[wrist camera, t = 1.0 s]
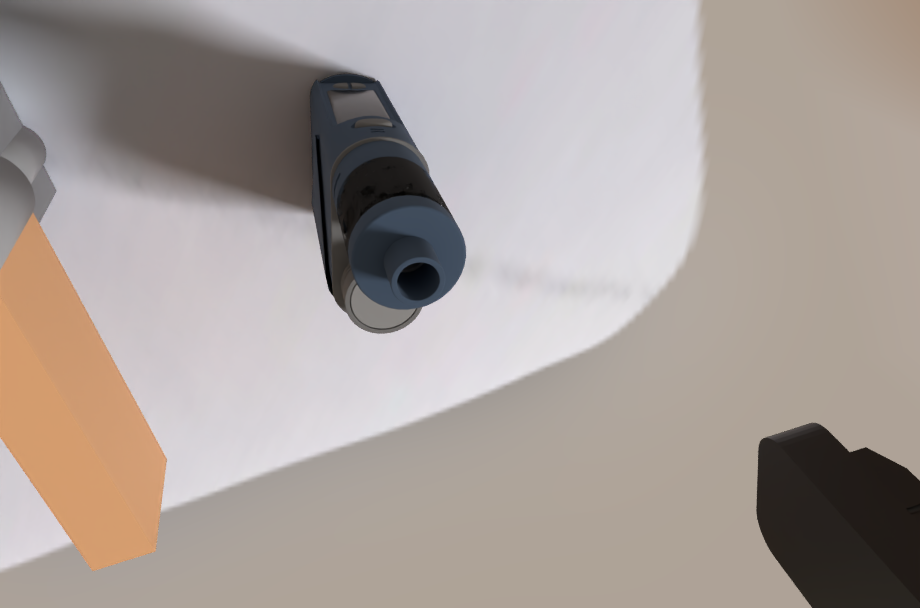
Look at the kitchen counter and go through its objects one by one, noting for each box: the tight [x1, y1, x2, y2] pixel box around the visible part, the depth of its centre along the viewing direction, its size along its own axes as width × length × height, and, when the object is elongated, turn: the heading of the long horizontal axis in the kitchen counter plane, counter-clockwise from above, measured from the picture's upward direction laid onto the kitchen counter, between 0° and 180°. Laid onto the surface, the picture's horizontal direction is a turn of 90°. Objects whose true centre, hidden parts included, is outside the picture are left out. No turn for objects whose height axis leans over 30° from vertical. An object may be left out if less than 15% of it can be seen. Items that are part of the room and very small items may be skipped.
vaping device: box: [310, 74, 466, 333], centre depth 20 cm, size 3×5×12 cm, turn 176°
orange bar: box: [0, 156, 167, 571], centre depth 21 cm, size 11×2×4 cm, turn 11°
